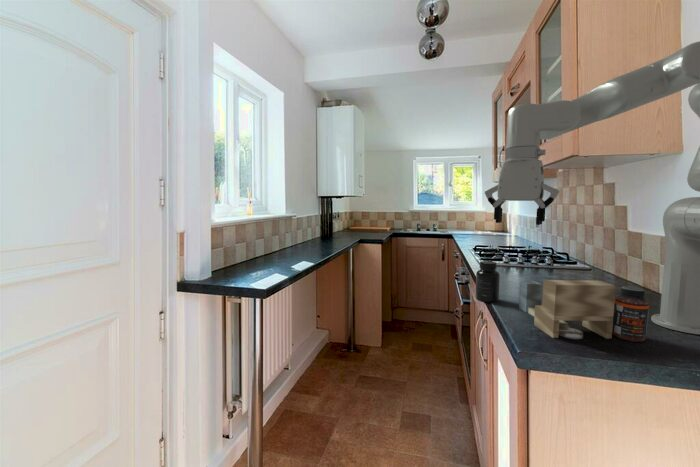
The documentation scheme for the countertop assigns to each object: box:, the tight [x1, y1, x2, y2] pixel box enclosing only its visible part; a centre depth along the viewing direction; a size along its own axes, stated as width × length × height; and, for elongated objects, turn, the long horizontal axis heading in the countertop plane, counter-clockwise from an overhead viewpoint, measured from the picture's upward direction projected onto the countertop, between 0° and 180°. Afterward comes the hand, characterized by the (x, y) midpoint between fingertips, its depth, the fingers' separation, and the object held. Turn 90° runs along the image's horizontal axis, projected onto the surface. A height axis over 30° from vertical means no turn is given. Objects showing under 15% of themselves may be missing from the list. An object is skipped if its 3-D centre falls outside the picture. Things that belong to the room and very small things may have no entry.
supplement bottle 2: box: [612, 286, 650, 343], centre depth 75 cm, size 6×6×11 cm
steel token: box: [559, 326, 584, 340], centre depth 77 cm, size 5×5×1 cm
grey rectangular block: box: [518, 280, 569, 328], centre depth 88 cm, size 4×17×8 cm, turn 179°
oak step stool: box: [533, 279, 616, 339], centre depth 79 cm, size 13×8×12 cm, turn 89°
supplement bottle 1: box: [475, 260, 501, 304], centre depth 105 cm, size 7×7×12 cm
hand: (518, 223), depth 87 cm, fingers open, 9 cm apart
